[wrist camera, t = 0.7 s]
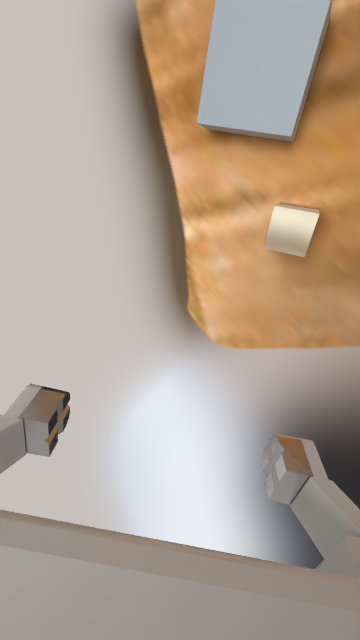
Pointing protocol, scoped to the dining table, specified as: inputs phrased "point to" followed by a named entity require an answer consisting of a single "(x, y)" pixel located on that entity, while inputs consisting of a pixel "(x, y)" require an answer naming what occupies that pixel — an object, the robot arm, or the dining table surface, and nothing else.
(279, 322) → the dining table surface
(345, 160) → the dining table surface
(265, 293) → the dining table surface
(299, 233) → the birch block
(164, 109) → the dining table surface
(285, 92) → the slate block
